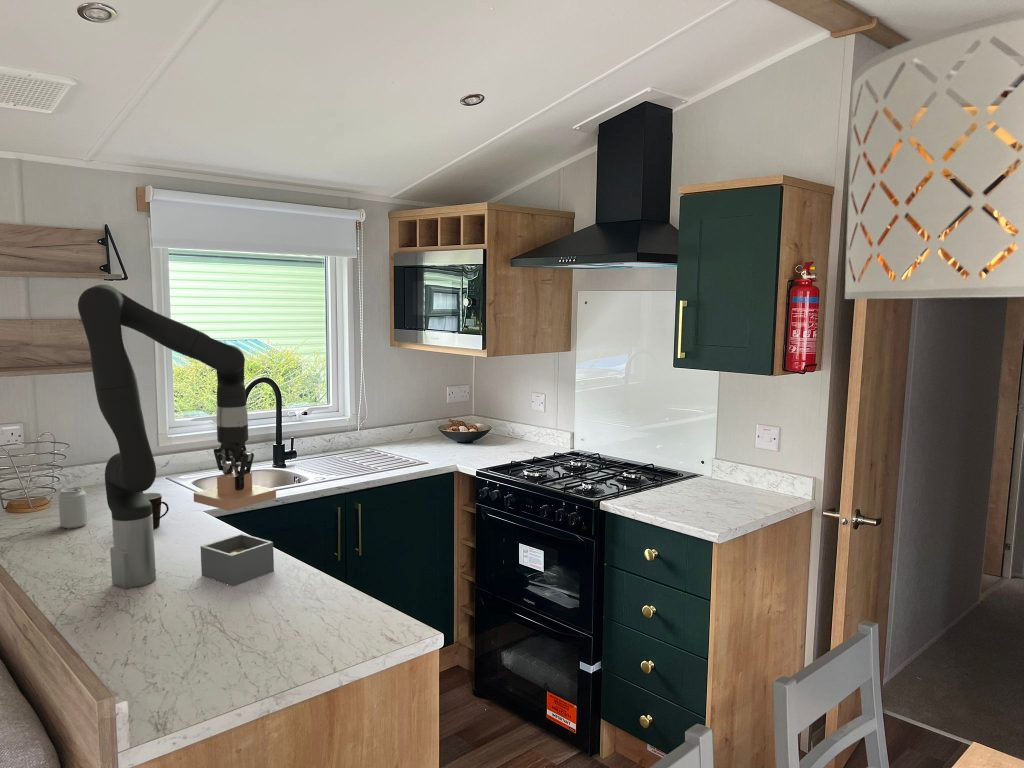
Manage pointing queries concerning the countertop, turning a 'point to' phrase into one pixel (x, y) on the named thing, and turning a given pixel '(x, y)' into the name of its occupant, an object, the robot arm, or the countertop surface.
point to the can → (72, 507)
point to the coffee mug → (156, 507)
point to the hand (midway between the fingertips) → (234, 488)
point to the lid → (234, 493)
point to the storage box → (237, 559)
